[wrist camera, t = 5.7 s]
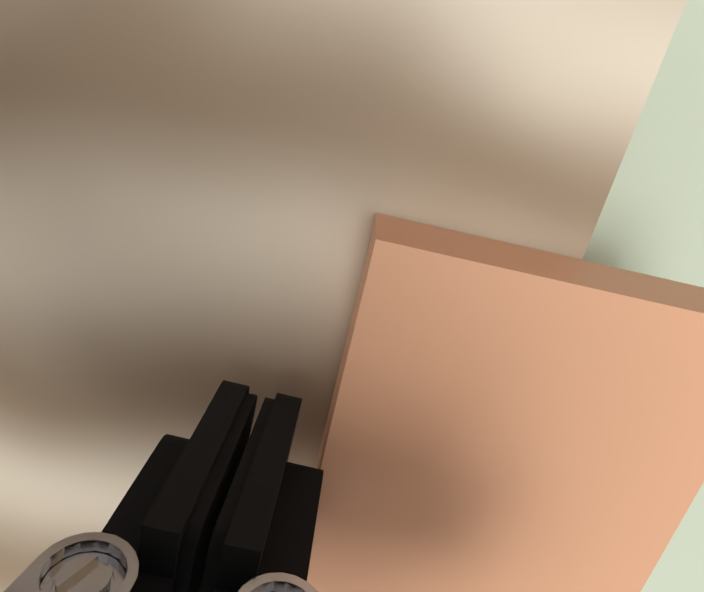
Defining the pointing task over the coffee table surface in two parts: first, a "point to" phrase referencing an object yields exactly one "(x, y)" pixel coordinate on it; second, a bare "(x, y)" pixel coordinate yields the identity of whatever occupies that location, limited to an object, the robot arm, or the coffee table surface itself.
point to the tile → (507, 421)
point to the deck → (261, 200)
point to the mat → (665, 229)
